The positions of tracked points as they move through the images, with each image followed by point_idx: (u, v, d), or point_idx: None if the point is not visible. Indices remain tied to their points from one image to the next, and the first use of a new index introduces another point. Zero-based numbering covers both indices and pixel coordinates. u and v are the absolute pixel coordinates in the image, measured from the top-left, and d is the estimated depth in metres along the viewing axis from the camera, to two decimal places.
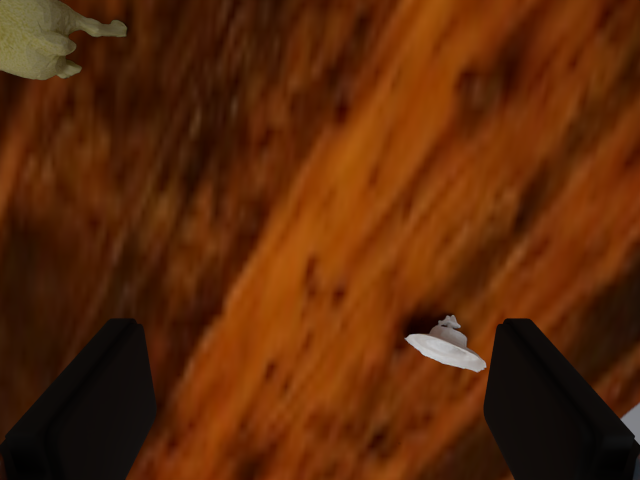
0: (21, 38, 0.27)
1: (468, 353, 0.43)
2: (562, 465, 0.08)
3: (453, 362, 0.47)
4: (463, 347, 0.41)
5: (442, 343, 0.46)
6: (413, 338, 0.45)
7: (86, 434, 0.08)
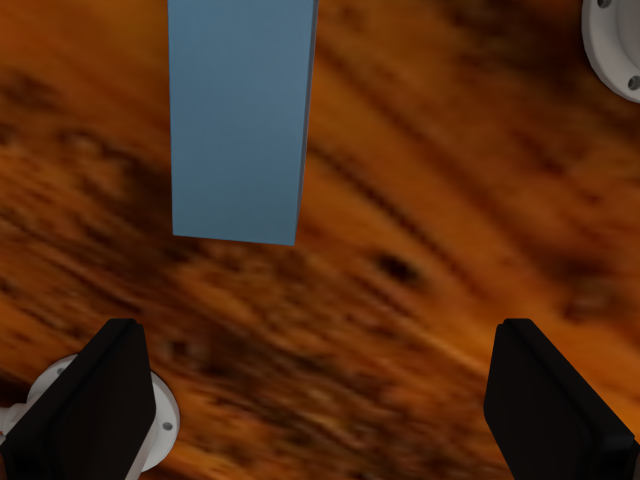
0: None
1: None
2: (562, 465, 0.08)
3: None
4: None
5: None
6: None
7: (86, 434, 0.08)
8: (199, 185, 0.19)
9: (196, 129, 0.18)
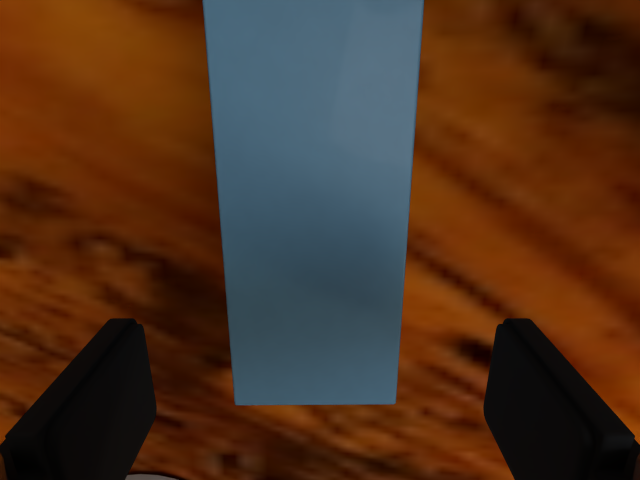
0: None
1: None
2: (562, 465, 0.08)
3: None
4: None
5: None
6: None
7: (86, 434, 0.08)
8: (267, 344, 0.14)
9: (260, 277, 0.13)
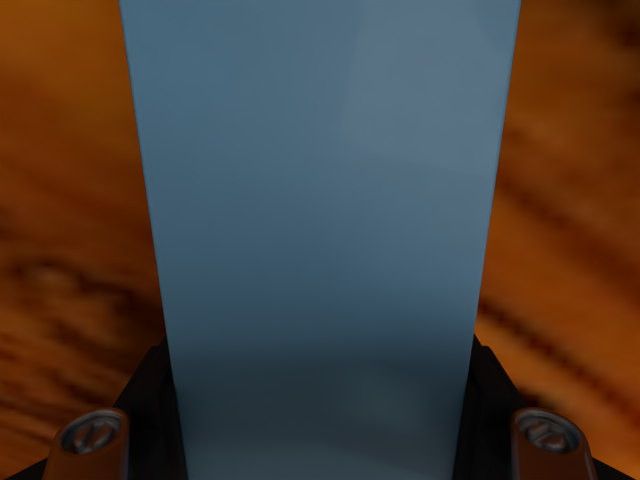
0: None
1: None
2: None
3: None
4: None
5: None
6: None
7: None
8: (245, 472, 0.09)
9: (230, 377, 0.08)
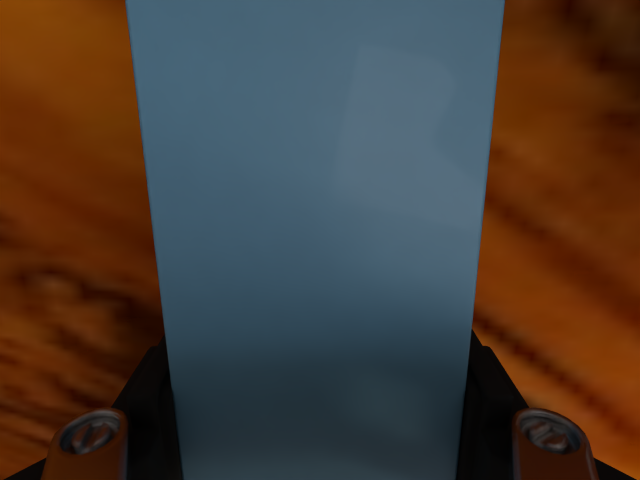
0: None
1: None
2: None
3: None
4: None
5: None
6: None
7: None
8: (242, 477, 0.09)
9: (228, 374, 0.08)
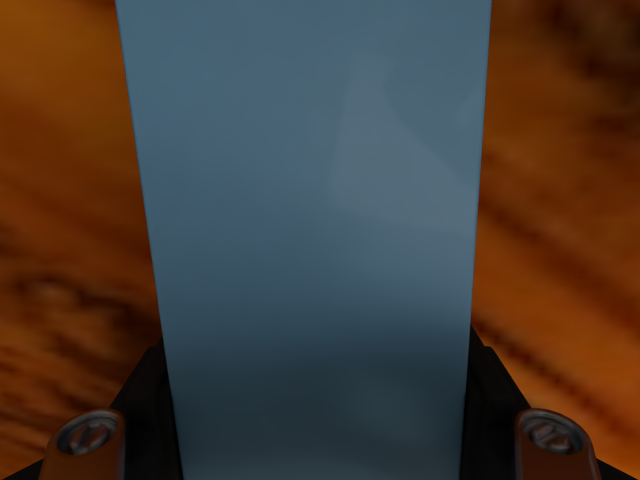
0: None
1: None
2: None
3: None
4: None
5: None
6: None
7: None
8: None
9: (227, 378, 0.08)
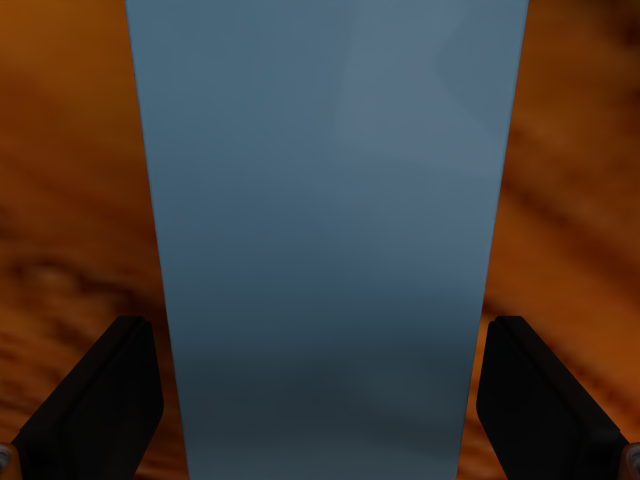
0: None
1: None
2: (550, 459, 0.08)
3: None
4: None
5: None
6: None
7: (97, 429, 0.08)
8: (247, 476, 0.09)
9: (233, 380, 0.08)
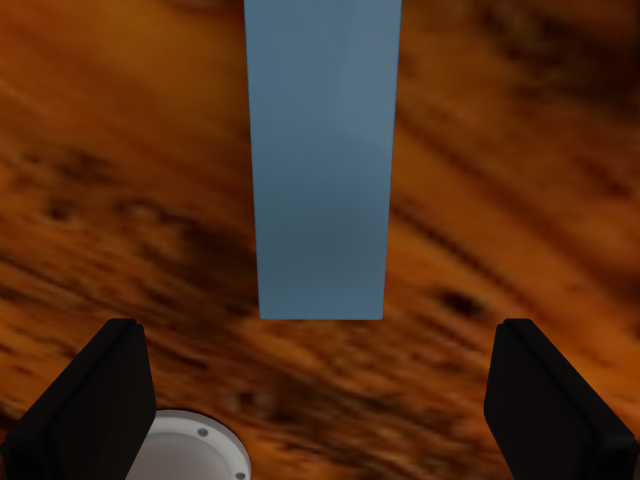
0: None
1: None
2: (562, 465, 0.08)
3: None
4: None
5: None
6: None
7: (86, 434, 0.08)
8: (285, 270, 0.19)
9: (281, 217, 0.18)
